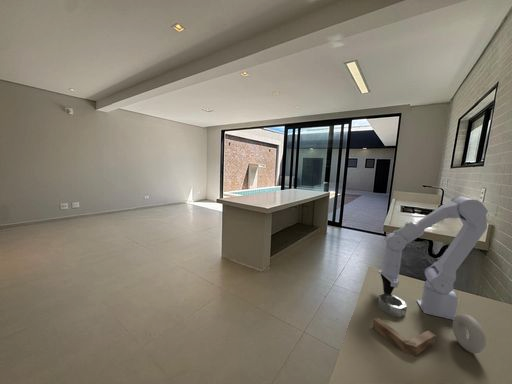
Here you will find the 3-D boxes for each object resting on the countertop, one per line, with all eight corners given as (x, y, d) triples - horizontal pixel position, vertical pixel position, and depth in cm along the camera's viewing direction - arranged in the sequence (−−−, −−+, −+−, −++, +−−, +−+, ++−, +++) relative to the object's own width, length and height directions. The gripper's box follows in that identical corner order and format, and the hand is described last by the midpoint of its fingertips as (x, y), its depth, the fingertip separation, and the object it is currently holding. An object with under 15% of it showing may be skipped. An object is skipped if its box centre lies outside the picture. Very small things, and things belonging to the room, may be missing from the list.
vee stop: (431, 340, 67) (433, 331, 66) (445, 365, 58) (447, 355, 58) (371, 324, 72) (372, 316, 72) (376, 345, 64) (378, 336, 64)
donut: (485, 363, 59) (493, 331, 58) (471, 361, 60) (478, 329, 59) (459, 335, 69) (465, 307, 68) (447, 333, 70) (452, 305, 68)
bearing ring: (400, 305, 83) (402, 297, 82) (407, 319, 75) (409, 310, 75) (377, 299, 86) (378, 291, 85) (381, 313, 78) (382, 304, 77)
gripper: (376, 253, 94) (373, 282, 96) (384, 269, 80) (379, 302, 82) (395, 257, 91) (391, 286, 93) (406, 273, 78) (400, 307, 80)
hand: (387, 294), depth 87 cm, fingers closed
